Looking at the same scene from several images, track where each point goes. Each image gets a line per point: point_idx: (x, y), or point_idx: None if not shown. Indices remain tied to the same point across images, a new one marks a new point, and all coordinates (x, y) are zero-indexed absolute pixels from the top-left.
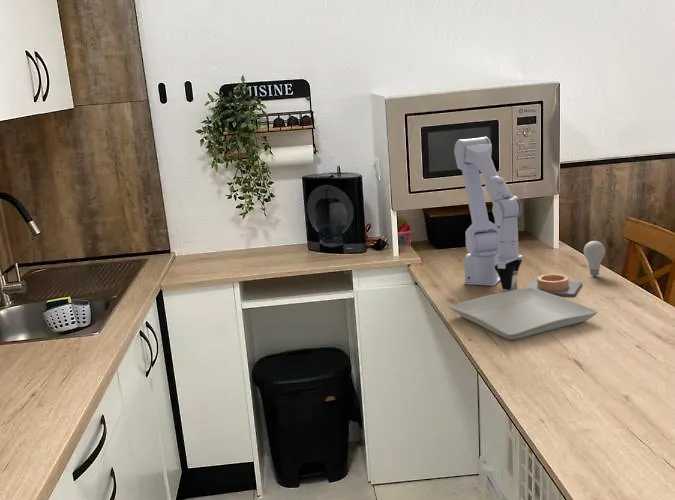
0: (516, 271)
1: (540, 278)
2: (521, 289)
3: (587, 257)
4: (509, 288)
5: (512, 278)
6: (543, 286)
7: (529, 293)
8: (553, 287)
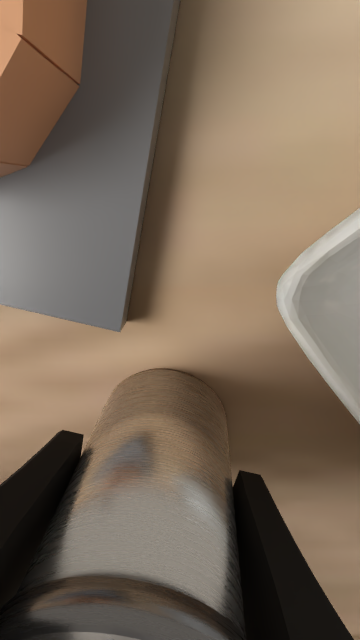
0: (129, 636)
1: None
2: (354, 390)
3: None
4: (266, 488)
5: (228, 567)
6: (42, 105)
7: (353, 284)
8: None
